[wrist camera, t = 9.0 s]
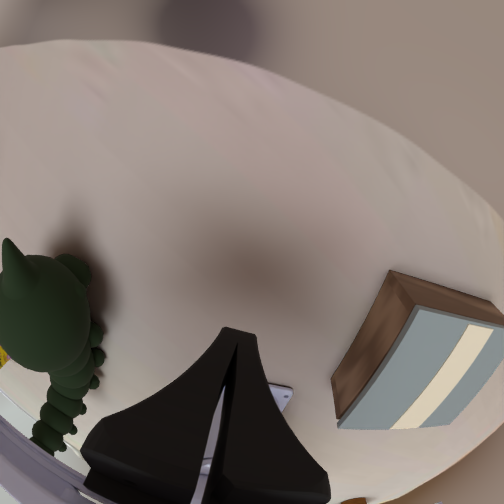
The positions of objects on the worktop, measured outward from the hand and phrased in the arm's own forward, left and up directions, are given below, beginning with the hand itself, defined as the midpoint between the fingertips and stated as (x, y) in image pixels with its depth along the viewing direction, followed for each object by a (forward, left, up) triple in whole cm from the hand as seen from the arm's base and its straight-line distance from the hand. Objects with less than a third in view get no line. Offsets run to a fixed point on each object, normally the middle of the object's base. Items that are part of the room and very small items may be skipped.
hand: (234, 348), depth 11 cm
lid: (-4, -17, -4) cm, 18 cm away
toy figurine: (-12, +16, -10) cm, 22 cm away
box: (-4, -17, -9) cm, 20 cm away
